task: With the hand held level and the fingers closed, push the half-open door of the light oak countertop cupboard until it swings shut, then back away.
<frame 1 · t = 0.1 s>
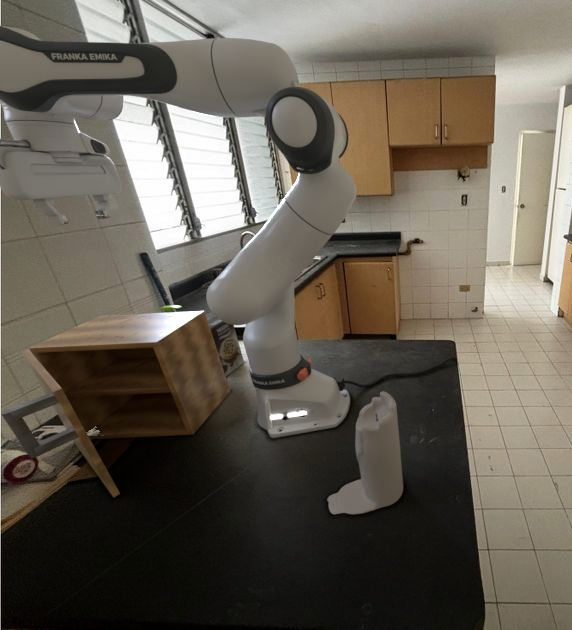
hand: (84, 221, 66), 48 cm above the worktop, tool pointing down, fingers open, 8 cm apart
white l-shaped piece: (366, 495, 61), on the worktop
soap dispenser: (189, 363, 109), on the worktop
cupboard door: (48, 429, 63), point 12 cm above the worktop, hinge at 35.0°
cupboard: (162, 413, 86), on the worktop
coffee box: (226, 369, 105), on the worktop
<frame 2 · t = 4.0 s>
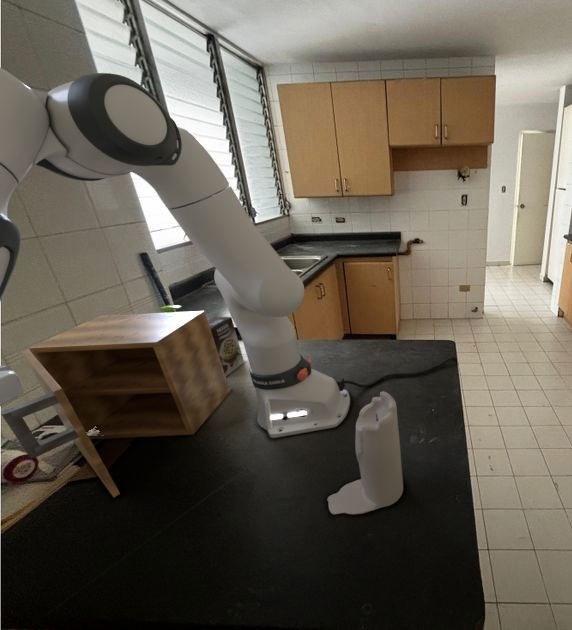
nothing on the worktop moved.
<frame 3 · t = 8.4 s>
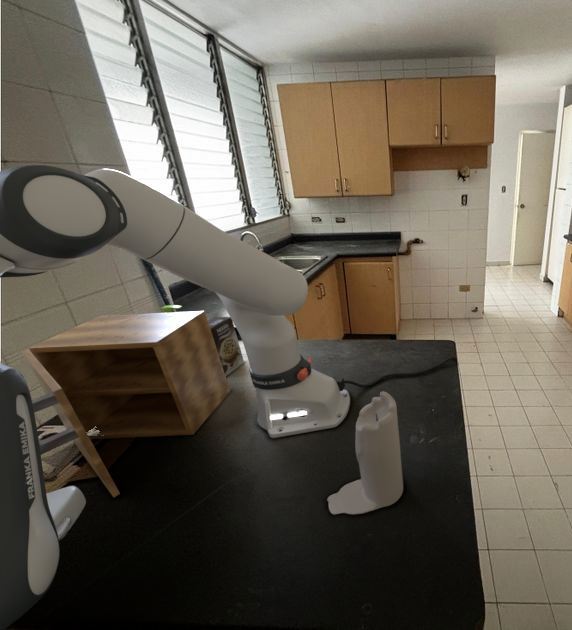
hand: (11, 493, 50), 12 cm above the worktop, tool horizontal, fingers closed
nothing on the worktop moved.
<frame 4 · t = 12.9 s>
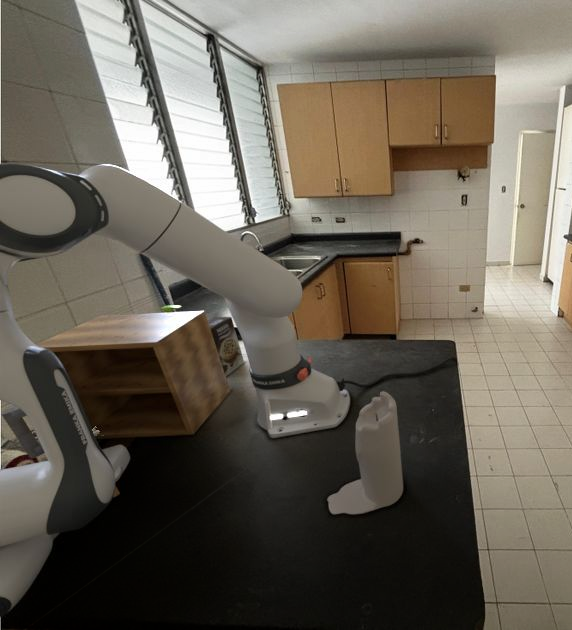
hand: (72, 451, 65), 7 cm above the worktop, tool horizontal, fingers closed
cupboard door: (48, 429, 63), point 12 cm above the worktop, hinge at 35.0°, touching gripper
everything else where it was.
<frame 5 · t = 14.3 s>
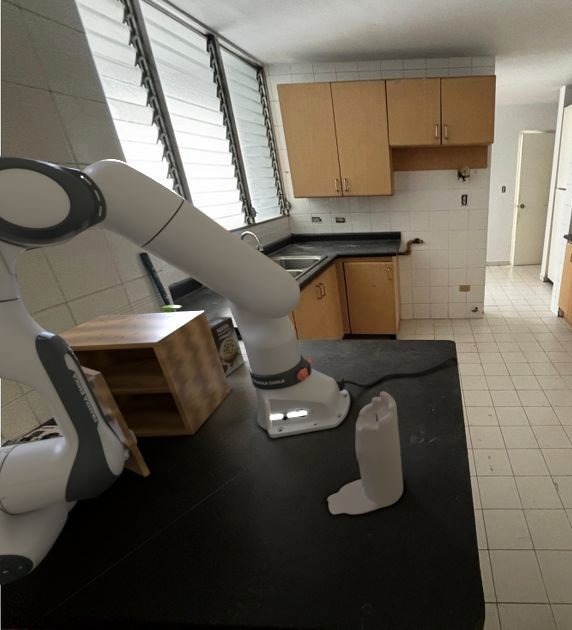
hand: (82, 436, 69), 7 cm above the worktop, tool horizontal, fingers closed
cupboard door: (67, 421, 65), point 12 cm above the worktop, hinge at 23.7°, touching gripper
everything else where it was.
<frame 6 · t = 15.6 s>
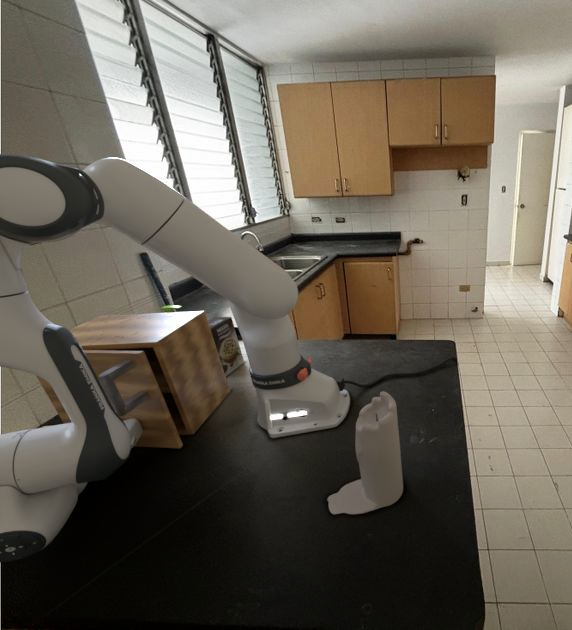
hand: (91, 425, 72), 7 cm above the worktop, tool horizontal, fingers closed
cupboard door: (93, 409, 68), point 12 cm above the worktop, hinge at 6.8°, touching gripper
everything else where it was.
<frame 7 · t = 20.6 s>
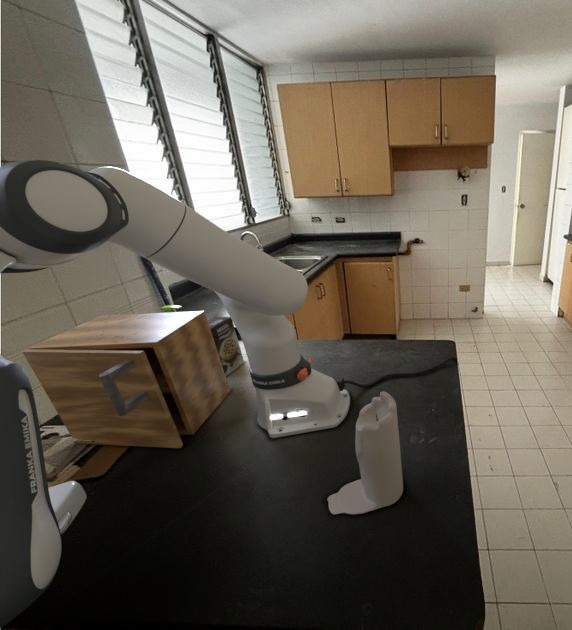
hand: (12, 488, 50), 13 cm above the worktop, tool horizontal, fingers closed
cupboard door: (93, 409, 68), point 12 cm above the worktop, hinge at 6.7°
everything else where it was.
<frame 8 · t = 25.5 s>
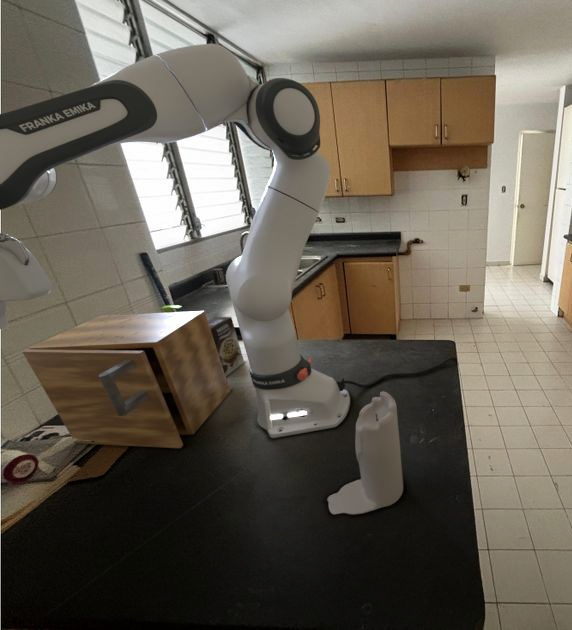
nothing on the worktop moved.
at the end: cupboard door at +7° (first picture: +35°); coffee box moved 0.2 cm from its start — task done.
